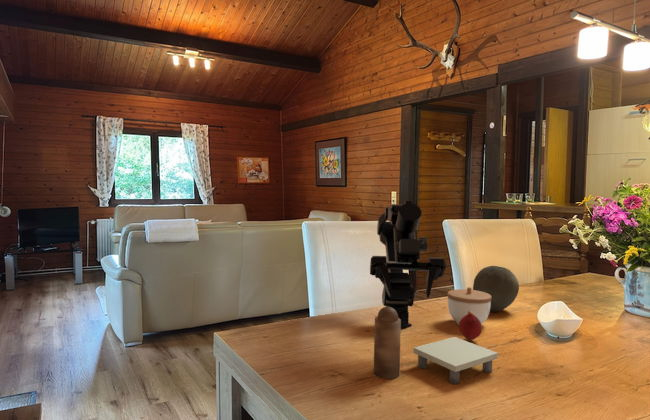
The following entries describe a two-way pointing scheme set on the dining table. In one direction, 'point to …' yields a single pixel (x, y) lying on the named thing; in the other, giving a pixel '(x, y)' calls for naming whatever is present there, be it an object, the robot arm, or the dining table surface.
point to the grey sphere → (497, 286)
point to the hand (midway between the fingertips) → (409, 296)
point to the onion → (470, 326)
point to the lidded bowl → (468, 304)
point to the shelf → (455, 356)
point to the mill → (387, 344)
